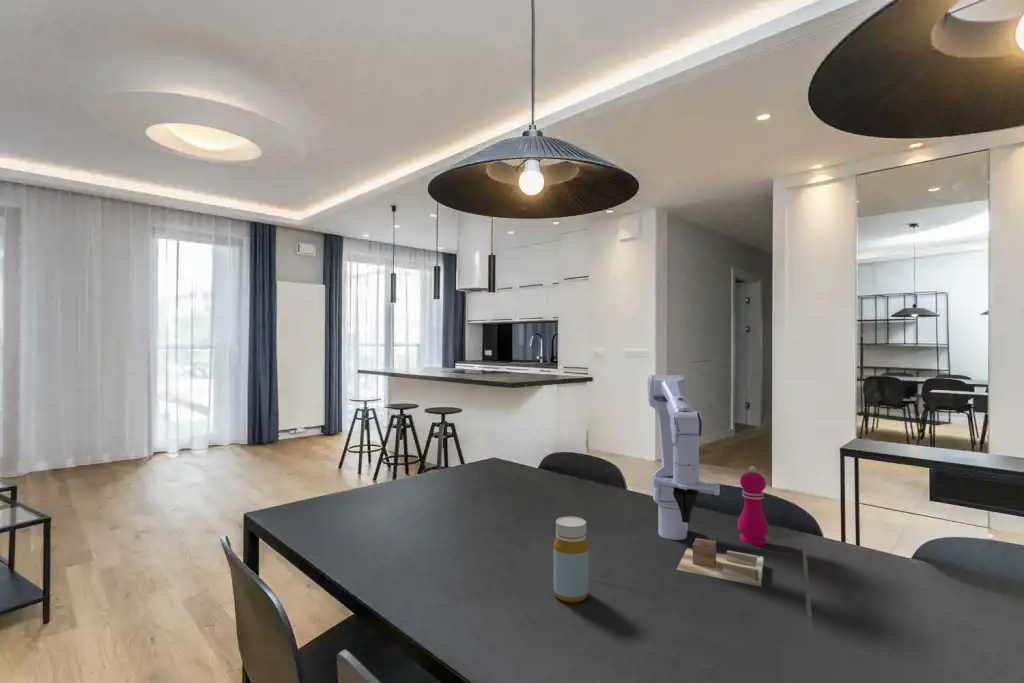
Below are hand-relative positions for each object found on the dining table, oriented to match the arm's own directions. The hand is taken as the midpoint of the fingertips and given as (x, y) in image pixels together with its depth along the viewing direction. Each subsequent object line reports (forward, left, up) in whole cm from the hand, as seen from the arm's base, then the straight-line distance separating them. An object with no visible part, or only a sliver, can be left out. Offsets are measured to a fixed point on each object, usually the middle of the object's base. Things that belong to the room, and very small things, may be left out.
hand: (686, 521), depth 120 cm
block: (0, +4, -9) cm, 10 cm away
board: (0, +8, -10) cm, 12 cm away
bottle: (+27, -18, -10) cm, 34 cm away
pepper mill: (-21, +13, -10) cm, 26 cm away
